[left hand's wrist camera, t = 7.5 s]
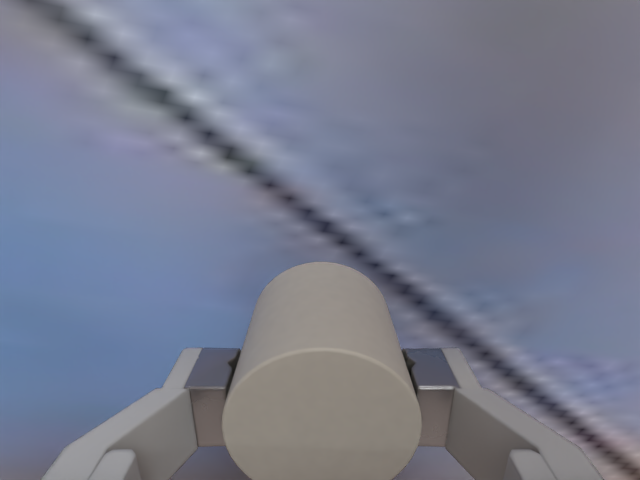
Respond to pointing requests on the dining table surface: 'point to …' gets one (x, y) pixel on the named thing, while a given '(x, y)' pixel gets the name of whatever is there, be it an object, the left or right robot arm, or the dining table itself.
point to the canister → (321, 382)
